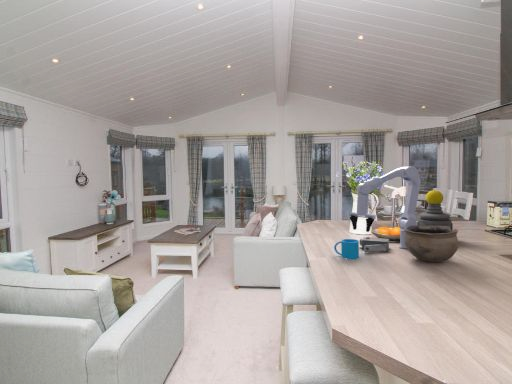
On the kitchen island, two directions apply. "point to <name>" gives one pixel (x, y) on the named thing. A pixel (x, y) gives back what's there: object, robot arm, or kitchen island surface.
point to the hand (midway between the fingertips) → (361, 230)
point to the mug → (349, 248)
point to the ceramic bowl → (431, 242)
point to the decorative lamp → (434, 212)
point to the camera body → (373, 241)
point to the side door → (376, 248)
